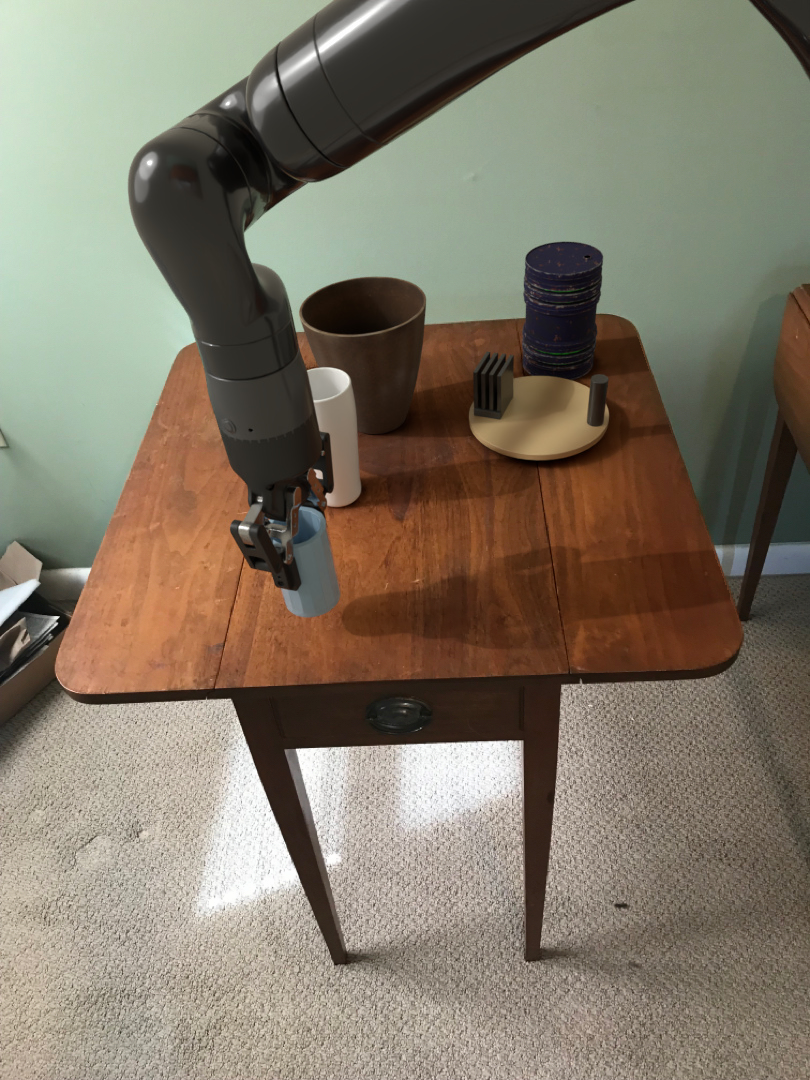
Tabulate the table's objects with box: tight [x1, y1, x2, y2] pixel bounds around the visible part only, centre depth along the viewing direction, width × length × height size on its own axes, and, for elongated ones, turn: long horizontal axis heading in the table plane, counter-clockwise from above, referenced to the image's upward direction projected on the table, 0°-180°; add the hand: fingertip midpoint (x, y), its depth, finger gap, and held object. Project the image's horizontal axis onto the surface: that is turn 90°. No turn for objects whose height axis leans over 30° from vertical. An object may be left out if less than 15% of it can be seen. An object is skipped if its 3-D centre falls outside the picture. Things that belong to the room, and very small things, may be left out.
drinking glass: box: [307, 367, 362, 508], centre depth 84 cm, size 7×7×15 cm
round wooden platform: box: [468, 351, 610, 460], centre depth 93 cm, size 17×17×7 cm
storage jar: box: [521, 241, 604, 381], centre depth 101 cm, size 10×10×15 cm
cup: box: [268, 506, 342, 618], centre depth 70 cm, size 5×5×9 cm
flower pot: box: [298, 276, 427, 435], centre depth 95 cm, size 15×15×16 cm
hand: (304, 562), depth 70 cm, fingers closed on cup, 5 cm apart
